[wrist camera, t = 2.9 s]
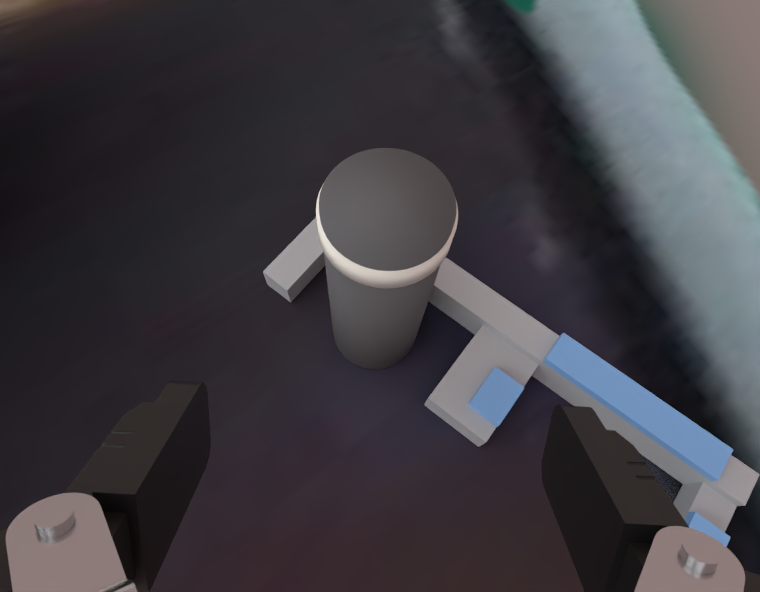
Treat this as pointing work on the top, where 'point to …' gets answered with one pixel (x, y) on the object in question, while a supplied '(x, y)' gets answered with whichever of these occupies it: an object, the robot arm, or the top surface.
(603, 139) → the top surface
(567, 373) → the grey blue frame
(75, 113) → the top surface
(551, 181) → the top surface
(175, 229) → the top surface
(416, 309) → the grey cylinder post
